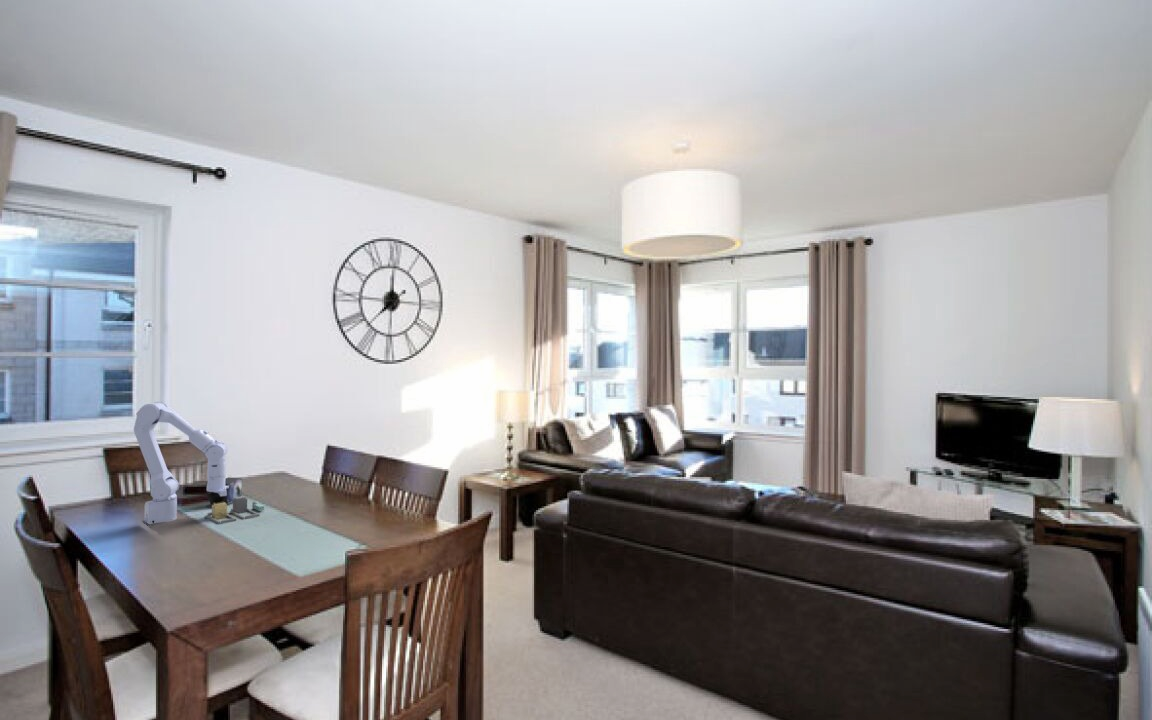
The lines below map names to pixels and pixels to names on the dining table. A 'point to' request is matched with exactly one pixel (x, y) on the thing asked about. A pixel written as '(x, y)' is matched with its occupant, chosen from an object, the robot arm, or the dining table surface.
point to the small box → (233, 489)
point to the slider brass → (219, 510)
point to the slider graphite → (240, 504)
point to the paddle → (257, 506)
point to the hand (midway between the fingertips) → (216, 512)
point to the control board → (233, 517)
